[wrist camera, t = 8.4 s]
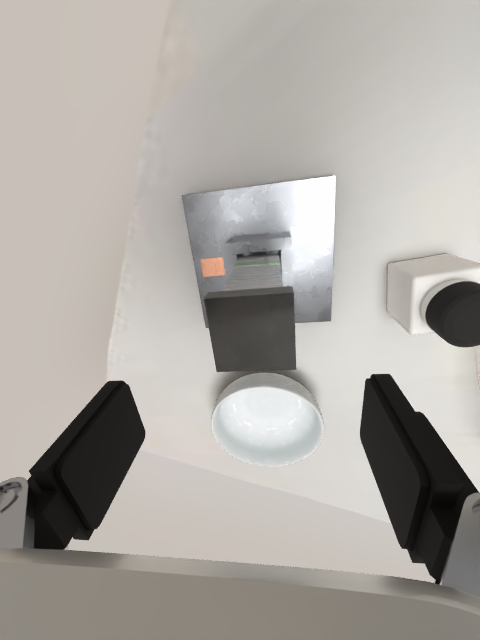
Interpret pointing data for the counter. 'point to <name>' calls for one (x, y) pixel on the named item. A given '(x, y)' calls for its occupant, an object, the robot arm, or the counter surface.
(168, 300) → the counter surface
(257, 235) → the stand base
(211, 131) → the counter surface
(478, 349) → the white house-shaped block
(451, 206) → the counter surface
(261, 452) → the cereal bowl
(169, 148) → the counter surface
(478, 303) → the medicine bottle
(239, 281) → the column
